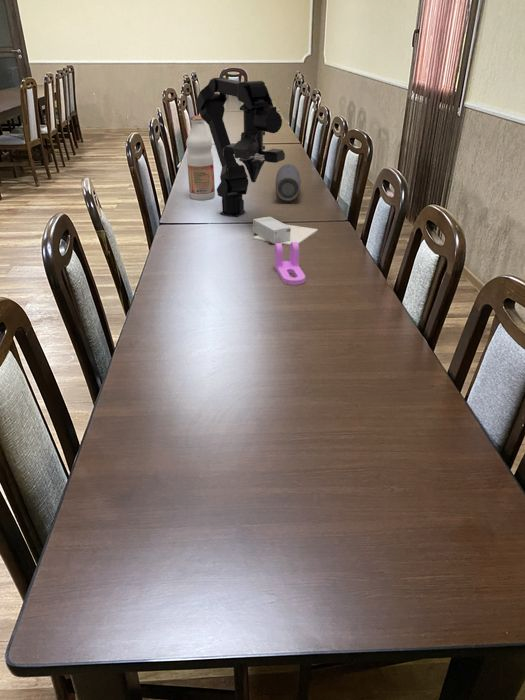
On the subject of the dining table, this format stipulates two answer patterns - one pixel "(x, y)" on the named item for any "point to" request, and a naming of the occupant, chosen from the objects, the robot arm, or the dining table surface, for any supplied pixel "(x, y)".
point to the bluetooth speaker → (288, 182)
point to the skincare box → (271, 229)
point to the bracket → (288, 264)
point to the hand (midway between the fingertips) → (253, 182)
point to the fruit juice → (200, 161)
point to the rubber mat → (294, 234)
